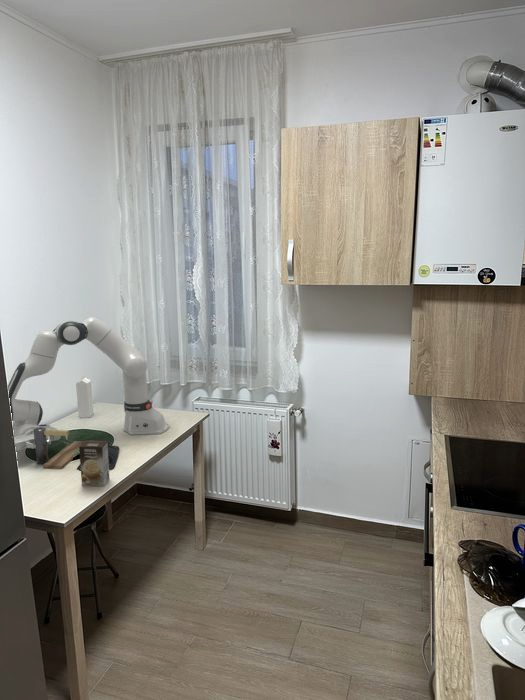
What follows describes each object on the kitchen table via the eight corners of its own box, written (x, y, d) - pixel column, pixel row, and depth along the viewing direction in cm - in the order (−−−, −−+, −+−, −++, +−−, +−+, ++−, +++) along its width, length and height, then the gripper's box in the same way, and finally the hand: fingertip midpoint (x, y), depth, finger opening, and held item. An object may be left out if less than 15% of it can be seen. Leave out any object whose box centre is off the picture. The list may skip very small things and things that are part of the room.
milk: (78, 417, 262) (75, 377, 258) (82, 414, 268) (79, 374, 264) (90, 417, 262) (86, 377, 258) (93, 413, 268) (90, 374, 264)
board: (89, 444, 227) (89, 441, 227) (61, 468, 202) (61, 465, 202) (73, 443, 228) (72, 440, 228) (43, 468, 203) (42, 465, 202)
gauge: (73, 459, 208) (70, 428, 206) (67, 464, 204) (65, 432, 201) (40, 458, 210) (37, 427, 207) (34, 462, 205) (31, 431, 203)
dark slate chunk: (125, 450, 222) (124, 440, 221) (112, 472, 200) (111, 461, 199) (90, 451, 221) (90, 441, 220) (74, 473, 199) (73, 462, 198)
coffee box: (80, 486, 187) (77, 446, 184) (87, 478, 194) (84, 439, 190) (104, 486, 187) (101, 446, 184) (110, 478, 193) (107, 440, 190)
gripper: (3, 434, 207) (14, 444, 198) (52, 423, 221) (65, 431, 211) (4, 449, 209) (16, 459, 199) (53, 436, 222) (66, 445, 213)
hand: (41, 444), depth 205 cm, fingers closed on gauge, 5 cm apart
